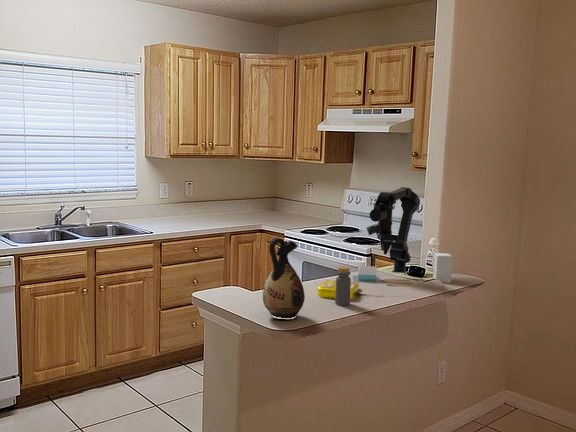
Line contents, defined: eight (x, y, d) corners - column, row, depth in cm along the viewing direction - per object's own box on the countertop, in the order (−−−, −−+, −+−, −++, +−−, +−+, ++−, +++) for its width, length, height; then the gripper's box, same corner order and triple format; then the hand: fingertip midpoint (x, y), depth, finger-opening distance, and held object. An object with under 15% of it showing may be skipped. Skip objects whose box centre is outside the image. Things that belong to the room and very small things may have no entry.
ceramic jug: (284, 308, 229) (286, 232, 225) (312, 318, 218) (315, 238, 214) (250, 316, 218) (251, 236, 213) (278, 327, 207) (280, 243, 202)
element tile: (351, 302, 241) (352, 290, 241) (316, 297, 246) (316, 286, 245) (359, 292, 255) (359, 282, 255) (326, 288, 260) (326, 278, 259)
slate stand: (352, 278, 277) (352, 275, 277) (378, 279, 277) (378, 276, 276) (354, 285, 265) (354, 282, 265) (381, 286, 265) (381, 283, 265)
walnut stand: (383, 282, 273) (383, 279, 272) (409, 283, 272) (410, 279, 272) (387, 289, 261) (387, 285, 261) (414, 290, 260) (414, 286, 260)
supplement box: (451, 282, 275) (453, 256, 273) (435, 282, 275) (437, 255, 273) (447, 278, 282) (449, 253, 280) (431, 278, 282) (433, 252, 280)
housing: (375, 278, 273) (375, 266, 272) (376, 281, 268) (376, 269, 267) (357, 277, 273) (358, 265, 273) (358, 280, 268) (359, 268, 268)
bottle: (345, 307, 233) (347, 269, 231) (332, 304, 236) (334, 267, 234) (352, 303, 238) (353, 267, 236) (339, 300, 241) (340, 265, 239)
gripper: (366, 215, 283) (364, 247, 285) (370, 221, 264) (368, 256, 267) (389, 216, 282) (387, 248, 285) (395, 222, 264) (393, 256, 266)
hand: (383, 252), depth 276 cm, fingers open, 9 cm apart
